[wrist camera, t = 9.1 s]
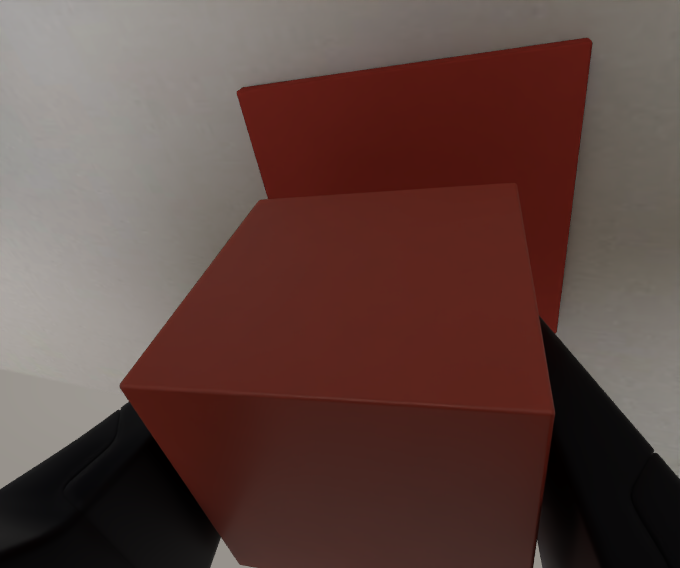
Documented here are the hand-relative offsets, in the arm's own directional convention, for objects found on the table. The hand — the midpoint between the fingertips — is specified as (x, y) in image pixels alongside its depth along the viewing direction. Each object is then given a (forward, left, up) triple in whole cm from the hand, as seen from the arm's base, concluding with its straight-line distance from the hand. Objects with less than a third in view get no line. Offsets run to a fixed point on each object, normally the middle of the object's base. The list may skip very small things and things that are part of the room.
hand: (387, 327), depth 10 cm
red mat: (0, 0, -5) cm, 5 cm away
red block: (0, 0, -1) cm, 1 cm away
